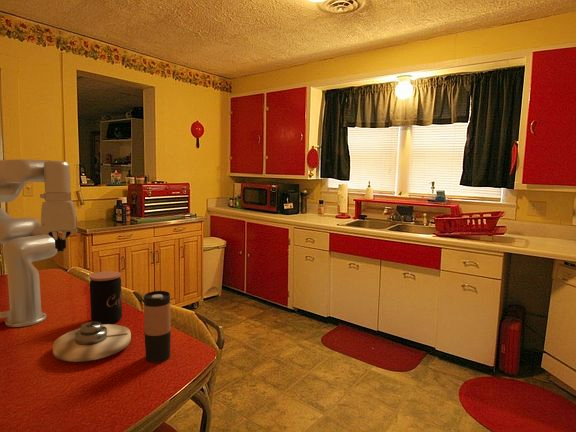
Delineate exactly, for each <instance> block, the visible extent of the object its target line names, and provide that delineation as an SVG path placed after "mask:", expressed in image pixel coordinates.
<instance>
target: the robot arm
mask: <svg viewBox="0 0 576 432" xmlns="http://www.w3.org/2000/svg"><path fill="white" fill-rule="evenodd" d="M70 167H71V165H70V163H69V162H68V161H65V160H47V159H46V160H45V159H27V158H25V159H24V158H21V159H16V158H15V159H0V204H1V203H9V202H11V203H12V202H13V201H15V200H16V199H17V198H18V197H20V196H19V195H20V194H21V193H22V191H23V189H24V187H25V185H26V184H27V183H44V192H43V193H41V194H39V198H40V199H44V201H42V203H41V208H40V209H41V211H40V220H38V219H37V218H34V217H30V216H27V217H24V216H23V217H12V216H11V215H9V214H8V212H6V210H4V209H3V208H2V207H0V244H1V245H3V246H2V256H3V259H4V263H5V268H6V274H7V275H6V276H7V286H8V301H9V303H8V304H9V310H6V311H0V320H1V319H6V320H5V325H6V326H7V327H11V328H20V327H28V326H32V325H35V324H36V325H37V324H39V323H41V322H43V321H45V320H46V319H47V313H45V312H43V311H42V301H41V285H40V284H41V283H40V273H39V270H38V269H37V268H36V267H35V266H34V264H33V262H38V261H42V260H46V259H51V258H53V257H54V256H55V255H57V253H59V252H64V250H65V249H67V238H68V237H70V236H71V235H75V234H77V233H79V232H78V228H77V227H78V221H77V218H78V217H77V211H76V206H75V203H74V200H72V190H71V189H72V188H71V186H72V184H71V168H70ZM59 232H61V237H60V234H59Z"/></svg>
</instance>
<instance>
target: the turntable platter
mask: <svg viewBox="0 0 576 432" xmlns="http://www.w3.org/2000/svg"><path fill="white" fill-rule="evenodd" d="M102 326H104V327H106V328H107V338H106V339H105V340H104V341H102V342H100V343H97V344H93V345H78V344H76V343H75V333H76V332H77V331H78V330H80V327H79V328H76V329H74V330H70V331H68V332H66V333H64V334H62V335H60V336H59V337H57V338H56V339H55V341H54V342H53V344H52V353H53V356H54V358H56V359H58V360H61V361H65V362H75V363H80V362H79V361H88V362H91V361H90V360H95V359H99V360H101V359H100V358H103V359H105V358H104V357H106V358H108V357H110V356H112V355H114V354H115V355H116V354H117V353H119V352H121V351H122V350H124V349H125V348H127V347H128V346H129V344H131V341H132V337H131V336H132V333H131V330H130V329H129V327H126V326H123V325H120V324H119V325H118V324H104V325H102ZM107 356H108V357H107ZM95 361H96V360H95Z"/></svg>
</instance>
